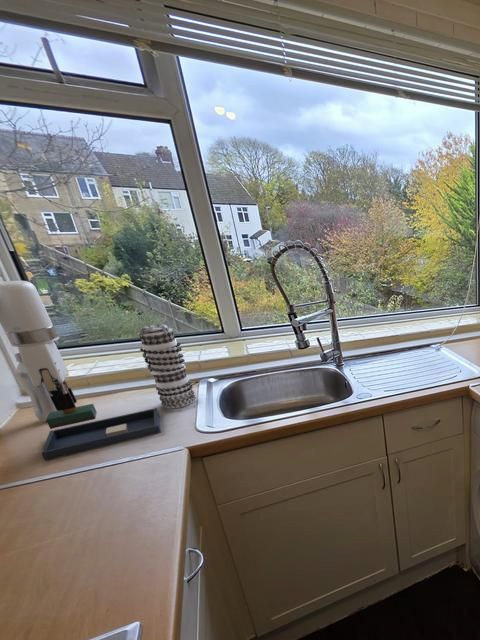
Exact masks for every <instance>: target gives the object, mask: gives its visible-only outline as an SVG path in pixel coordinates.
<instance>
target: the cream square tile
mask: <svg viewBox="0 0 480 640" xmlns="http://www.w3.org/2000/svg"><path fill="white" fill-rule="evenodd" d="M125 432H128V426H127V424H122V425H118V426H113V427H109V428H107V429H106V436H107V437H108V436H112V435H116V434H120V433H125Z"/></svg>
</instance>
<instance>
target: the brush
mask: <svg viewBox="0 0 480 640" xmlns="http://www.w3.org/2000/svg"><path fill="white" fill-rule="evenodd" d="M63 385H64V387H65V389H66V391H67V393H68V392H69V391H68V389H67V387H66V385H65V384H63ZM57 386H59V385H57ZM59 387H60V386H59ZM69 394H70V393H69ZM70 396H71V395H70ZM71 398H72V397H71ZM72 400H73V399H72ZM73 402H74V401H73ZM74 404H75V408H71V409H66V410H61V411H55V412H50V413H49V414H48V416H47V419H46V421H47V422H46V424H47V425H48V427H49V429H50V430H53V429H56V428H57V429H58V428H61V427H67V426H69V425H70V426H71V425H74V424H75V425H76V424H80V423H84V422H90V421H94V420H96V418H97V413H98V412H97V409H96V407H95V405H94V403H90V404H85V405H79V406H76V403H74Z"/></svg>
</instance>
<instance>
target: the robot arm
mask: <svg viewBox="0 0 480 640" xmlns="http://www.w3.org/2000/svg"><path fill="white" fill-rule="evenodd" d="M0 325H1V328H2V329H3V331H4V333H5V335H6V337H7V340H8V341H9V343H10V345H11V347H13V348H14V347H15V348H18V353H20V355H21V358H22V361H23V363H24V365H25V368H26V370H27V372H28V375H29V377H30V379H31V381H32V384H33V386H35V387H40V386H41V384H42V382H43V383H44V385H45V387H46V389H47V391H48V393H49V395H50V398H51V400H52V402H53V404H54V406H55V408H56V410H57V411H61V410H66V409H71V408H75V406H76V403H77V398H76V396H75V394H74V392H73V390H72V388H71V387H70V385H69V382H68V380H67V378H66V377H67V375H68V368H67V366H66V364H65V361H64V359H63V357H62V355H61V352H60V350H59V348H58V346H57V344H56V343H55V342H56V341H58V340H59V339H60V337H59V335H58V333H57V330H56V329H55V327H54V325H53V322H52V319H51V318H50V315H49V314H48V312H47V309H46V307H45V305H44V302H43V300H42V298H41V296H40V294H39V292H38V290H37V287H36V286H35V285H34V284H33V283H32V282H30V281H28V280H5V281H4V280H3V281H0ZM63 384H65V385H66V387H67V389H68V391H69V392H68V393H67V391H66V389H65V387H64V385H63ZM57 385H59V386H60V387H59V386H57ZM69 393H70V394H69ZM70 395H71V396H70ZM71 397H72V398H71ZM72 399H73V400H72ZM73 401H74V402H73ZM74 403H75V404H74Z"/></svg>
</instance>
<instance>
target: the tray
mask: <svg viewBox="0 0 480 640" xmlns="http://www.w3.org/2000/svg"><path fill="white" fill-rule="evenodd" d="M122 424H127V426H128V432H125V433H120V434H116V435H112V436H108V437H107V436H106V429H107V428H109V427H113V426H118V425H122ZM159 433H161V421H160V412H159V410H158V407H155V408H151V409H146V410H141V411H137V412H131V413H128V414H127V413H126V414H122V415H118V416H113V417H109V418H104V419H98V420H93V421H88V422H86V423H81V424H80V423H79V424H75V425H72V426H71V425H70V426H65V427H63V428H61V427H60V428H57V429H51V430H49V432H48V435H47V438H46V440H45V442H44V445H43V447H42V450H41V453H40V454H41V456H42V458H43V460H44V461H49V460H53V459H58V458H61V457H65V456H70V455H74V454H77V453H81V452H86V451H89V450H94V449H98V448H102V447H107V446H110V445H114V444H115V445H116V444H118V443H124V442H126V441H131V440H135V439H139V438H144V437H147V436H152V435H156V434H159Z"/></svg>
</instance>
